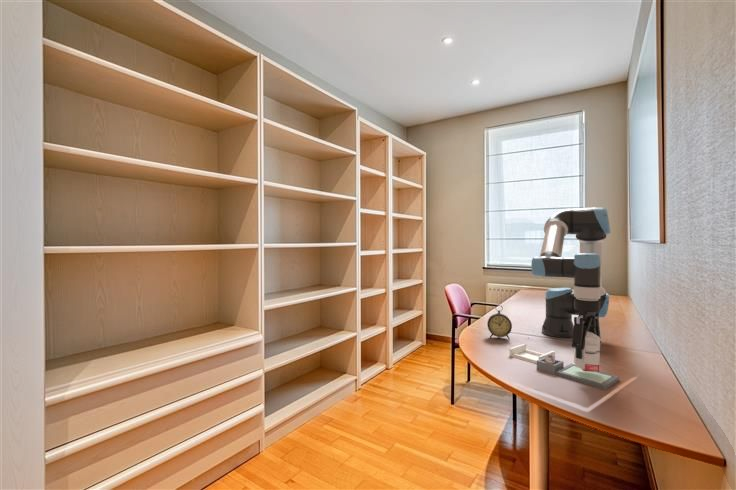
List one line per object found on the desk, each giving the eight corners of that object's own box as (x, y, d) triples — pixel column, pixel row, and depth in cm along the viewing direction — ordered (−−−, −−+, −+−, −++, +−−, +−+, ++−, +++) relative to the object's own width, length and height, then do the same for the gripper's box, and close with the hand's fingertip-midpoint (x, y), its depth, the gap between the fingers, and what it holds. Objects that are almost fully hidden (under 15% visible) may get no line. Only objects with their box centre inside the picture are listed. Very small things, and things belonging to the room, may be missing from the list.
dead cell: (547, 367, 126) (547, 353, 126) (556, 369, 123) (556, 355, 123) (543, 369, 124) (543, 355, 124) (552, 371, 121) (552, 357, 121)
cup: (545, 367, 128) (545, 356, 128) (563, 372, 123) (563, 361, 123) (536, 371, 124) (536, 360, 124) (554, 377, 119) (554, 365, 119)
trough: (524, 352, 145) (524, 343, 145) (554, 361, 134) (554, 351, 134) (509, 358, 138) (509, 348, 138) (540, 367, 128) (540, 357, 128)
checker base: (571, 369, 126) (571, 363, 126) (619, 383, 114) (619, 376, 114) (555, 377, 119) (555, 371, 119) (604, 392, 107) (604, 385, 107)
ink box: (600, 373, 112) (600, 336, 111) (583, 371, 113) (583, 336, 112) (589, 363, 120) (589, 329, 120) (573, 362, 121) (573, 329, 121)
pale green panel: (573, 368, 124) (573, 365, 124) (612, 379, 114) (612, 376, 114) (561, 374, 118) (561, 371, 118) (601, 386, 109) (601, 383, 109)
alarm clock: (487, 338, 166) (487, 305, 166) (487, 335, 171) (487, 303, 171) (511, 340, 163) (511, 306, 162) (510, 337, 168) (510, 304, 168)
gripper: (588, 294, 125) (588, 355, 126) (559, 300, 112) (559, 368, 113) (612, 296, 119) (611, 360, 120) (584, 304, 106) (584, 375, 107)
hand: (586, 364), depth 116 cm, fingers closed on ink box, 9 cm apart
